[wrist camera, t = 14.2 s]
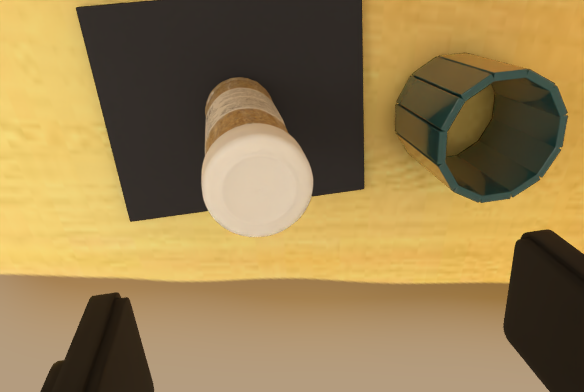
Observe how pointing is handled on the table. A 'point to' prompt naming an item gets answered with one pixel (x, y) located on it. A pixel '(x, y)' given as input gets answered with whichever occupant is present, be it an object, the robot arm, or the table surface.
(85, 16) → the felt mat
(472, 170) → the pen cup
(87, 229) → the table surface
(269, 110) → the sprinkles bottle
